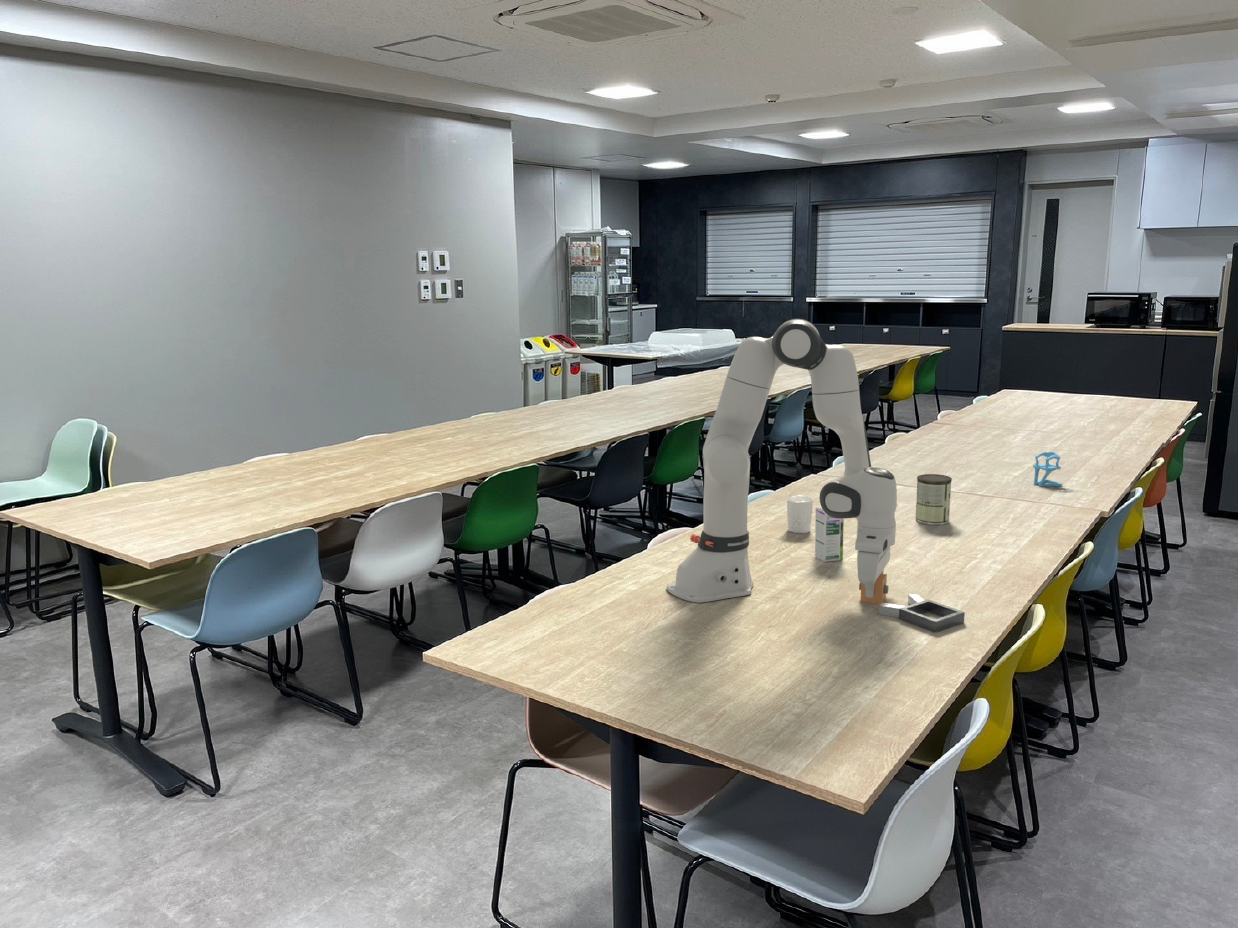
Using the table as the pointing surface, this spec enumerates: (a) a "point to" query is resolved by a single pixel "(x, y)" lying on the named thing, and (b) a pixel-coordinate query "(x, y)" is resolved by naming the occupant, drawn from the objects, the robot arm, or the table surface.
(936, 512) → the coffee can
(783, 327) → the robot arm
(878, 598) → the block
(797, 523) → the white cup
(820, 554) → the syrup box
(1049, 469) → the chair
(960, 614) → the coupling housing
